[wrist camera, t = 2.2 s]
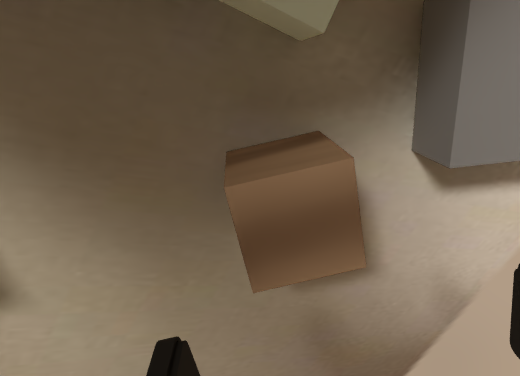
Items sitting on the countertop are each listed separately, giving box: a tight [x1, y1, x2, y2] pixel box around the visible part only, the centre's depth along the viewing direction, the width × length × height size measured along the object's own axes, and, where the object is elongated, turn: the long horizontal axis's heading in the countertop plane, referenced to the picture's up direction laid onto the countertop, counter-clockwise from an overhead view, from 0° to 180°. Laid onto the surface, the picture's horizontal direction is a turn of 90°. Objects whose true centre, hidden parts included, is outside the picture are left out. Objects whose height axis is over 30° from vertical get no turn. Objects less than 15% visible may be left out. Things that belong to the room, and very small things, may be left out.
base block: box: [412, 0, 520, 168], centre depth 17 cm, size 8×8×4 cm
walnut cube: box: [224, 131, 366, 293], centre depth 17 cm, size 6×6×6 cm
